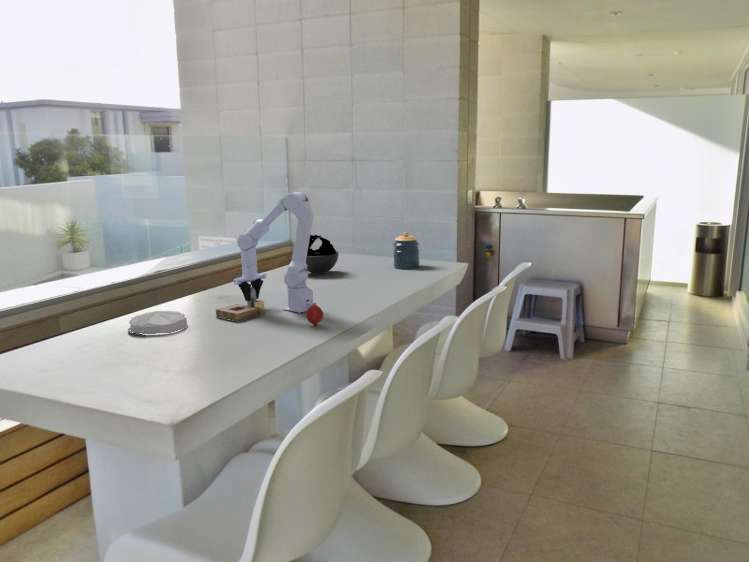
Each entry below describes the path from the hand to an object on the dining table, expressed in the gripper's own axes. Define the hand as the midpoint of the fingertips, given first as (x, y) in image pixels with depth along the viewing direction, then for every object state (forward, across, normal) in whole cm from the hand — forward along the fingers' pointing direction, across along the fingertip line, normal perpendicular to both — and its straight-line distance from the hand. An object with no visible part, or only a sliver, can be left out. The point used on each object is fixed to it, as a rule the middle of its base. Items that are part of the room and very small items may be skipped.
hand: (251, 299), depth 254 cm
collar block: (+3, +12, +6) cm, 14 cm away
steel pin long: (+3, 0, 0) cm, 3 cm away
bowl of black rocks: (+3, -64, -27) cm, 70 cm away
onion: (+3, +5, +39) cm, 39 cm away
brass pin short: (+3, +4, +9) cm, 10 cm away
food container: (+4, +38, -5) cm, 39 cm away
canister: (+3, -99, 0) cm, 99 cm away
